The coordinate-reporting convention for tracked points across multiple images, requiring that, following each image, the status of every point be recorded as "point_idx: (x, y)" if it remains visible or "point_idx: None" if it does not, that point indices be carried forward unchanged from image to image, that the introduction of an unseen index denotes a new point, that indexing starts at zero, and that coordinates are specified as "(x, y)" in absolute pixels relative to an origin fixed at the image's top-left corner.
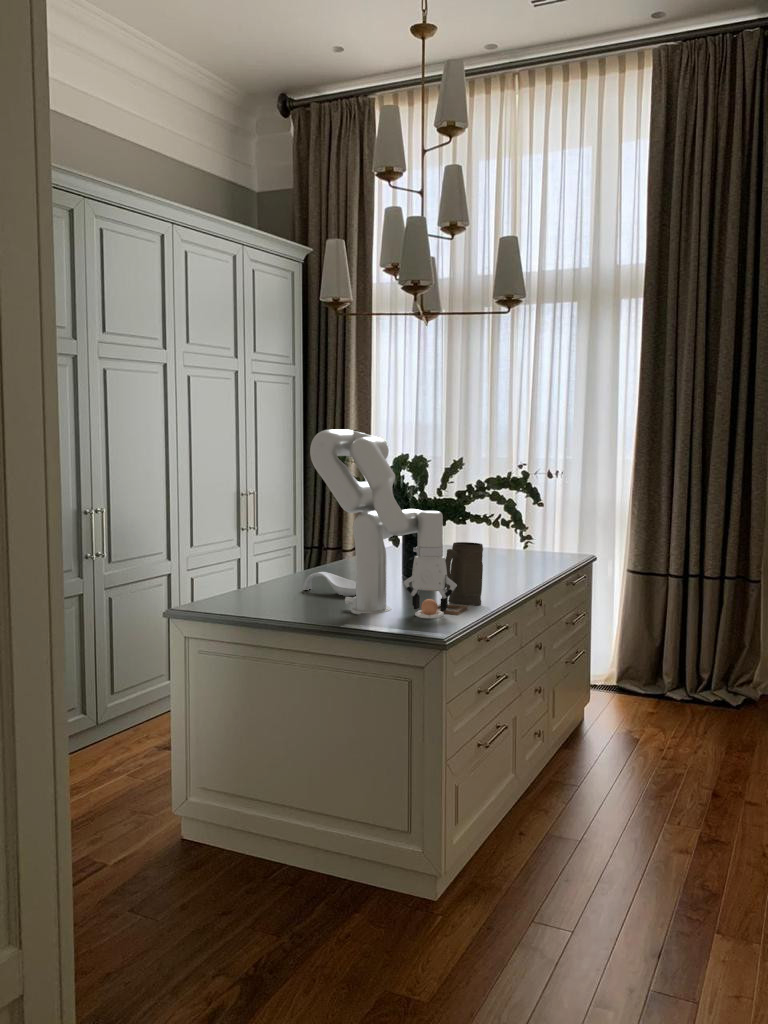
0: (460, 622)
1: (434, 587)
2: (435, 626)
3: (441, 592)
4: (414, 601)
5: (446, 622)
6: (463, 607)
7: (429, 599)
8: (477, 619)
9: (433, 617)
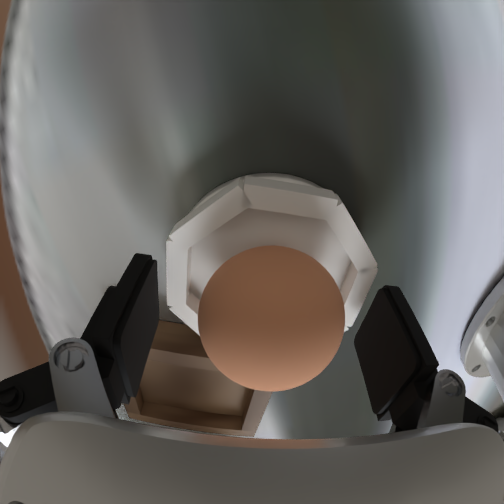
0: (56, 214)
1: (136, 480)
2: (162, 28)
3: (86, 406)
4: (415, 328)
5: (124, 185)
6: (129, 403)
7: (272, 367)
8: (35, 299)
9: (215, 196)
